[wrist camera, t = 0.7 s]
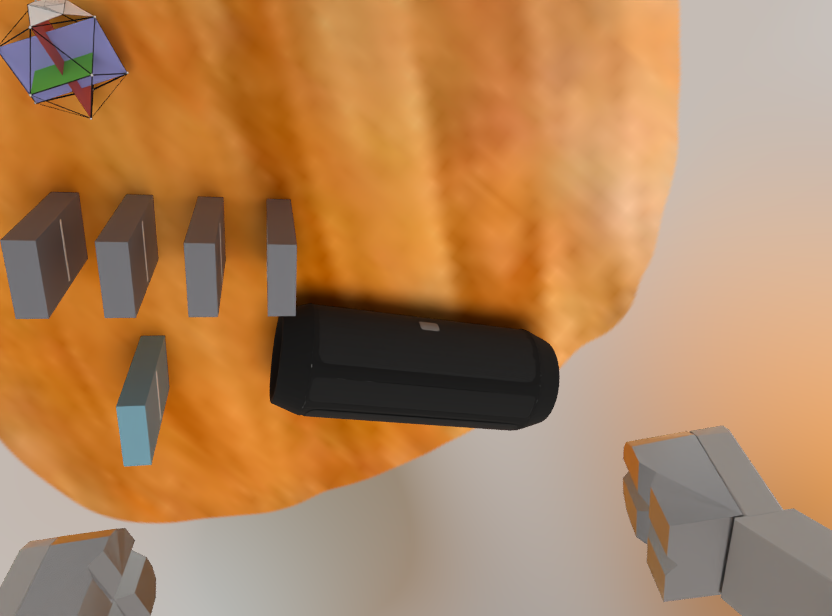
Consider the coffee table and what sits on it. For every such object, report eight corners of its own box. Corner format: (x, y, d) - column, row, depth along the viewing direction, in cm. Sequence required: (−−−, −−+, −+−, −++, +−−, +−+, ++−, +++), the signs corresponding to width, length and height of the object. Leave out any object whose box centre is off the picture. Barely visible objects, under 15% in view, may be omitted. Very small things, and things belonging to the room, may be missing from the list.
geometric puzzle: (151, 118, 47) (99, 59, 39) (61, 148, 46) (-10, 94, 39) (124, 34, 48) (68, -40, 40) (35, 62, 47) (-39, -6, 40)
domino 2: (132, 258, 53) (104, 317, 44) (126, 194, 51) (94, 241, 41) (158, 259, 54) (136, 317, 44) (153, 195, 51) (128, 242, 42)
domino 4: (201, 259, 55) (188, 317, 45) (197, 196, 52) (183, 243, 43) (225, 259, 55) (218, 316, 45) (223, 197, 53) (215, 243, 43)
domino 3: (146, 388, 59) (123, 466, 49) (140, 335, 56) (115, 406, 47) (169, 387, 59) (151, 464, 50) (165, 335, 57) (145, 405, 47)
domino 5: (266, 260, 56) (267, 316, 46) (266, 198, 53) (267, 244, 44) (290, 260, 56) (295, 315, 47) (290, 199, 54) (296, 244, 44)
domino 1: (61, 258, 52) (15, 319, 42) (50, 191, 50) (-1, 240, 40) (88, 258, 52) (49, 318, 43) (79, 192, 50) (35, 240, 40)
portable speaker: (534, 314, 65) (576, 364, 56) (506, 394, 69) (542, 453, 60) (282, 281, 57) (286, 333, 49) (267, 373, 61) (268, 437, 52)
